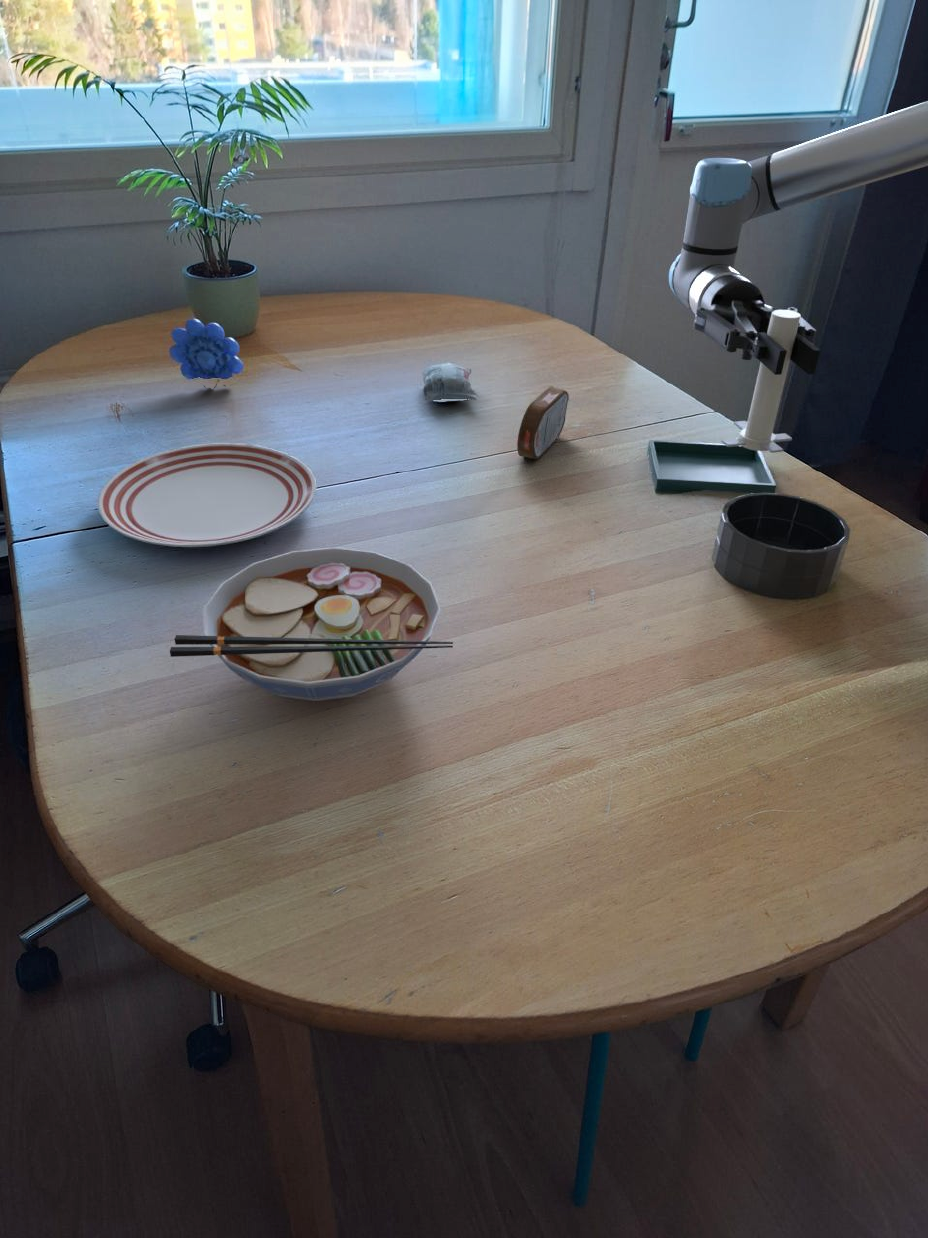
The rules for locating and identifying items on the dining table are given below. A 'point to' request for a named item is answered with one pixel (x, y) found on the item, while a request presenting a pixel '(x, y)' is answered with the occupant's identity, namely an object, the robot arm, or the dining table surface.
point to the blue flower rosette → (205, 351)
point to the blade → (768, 391)
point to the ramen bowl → (318, 622)
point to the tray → (708, 468)
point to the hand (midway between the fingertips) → (797, 362)
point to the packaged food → (447, 382)
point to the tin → (542, 422)
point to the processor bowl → (780, 545)
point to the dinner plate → (207, 495)
